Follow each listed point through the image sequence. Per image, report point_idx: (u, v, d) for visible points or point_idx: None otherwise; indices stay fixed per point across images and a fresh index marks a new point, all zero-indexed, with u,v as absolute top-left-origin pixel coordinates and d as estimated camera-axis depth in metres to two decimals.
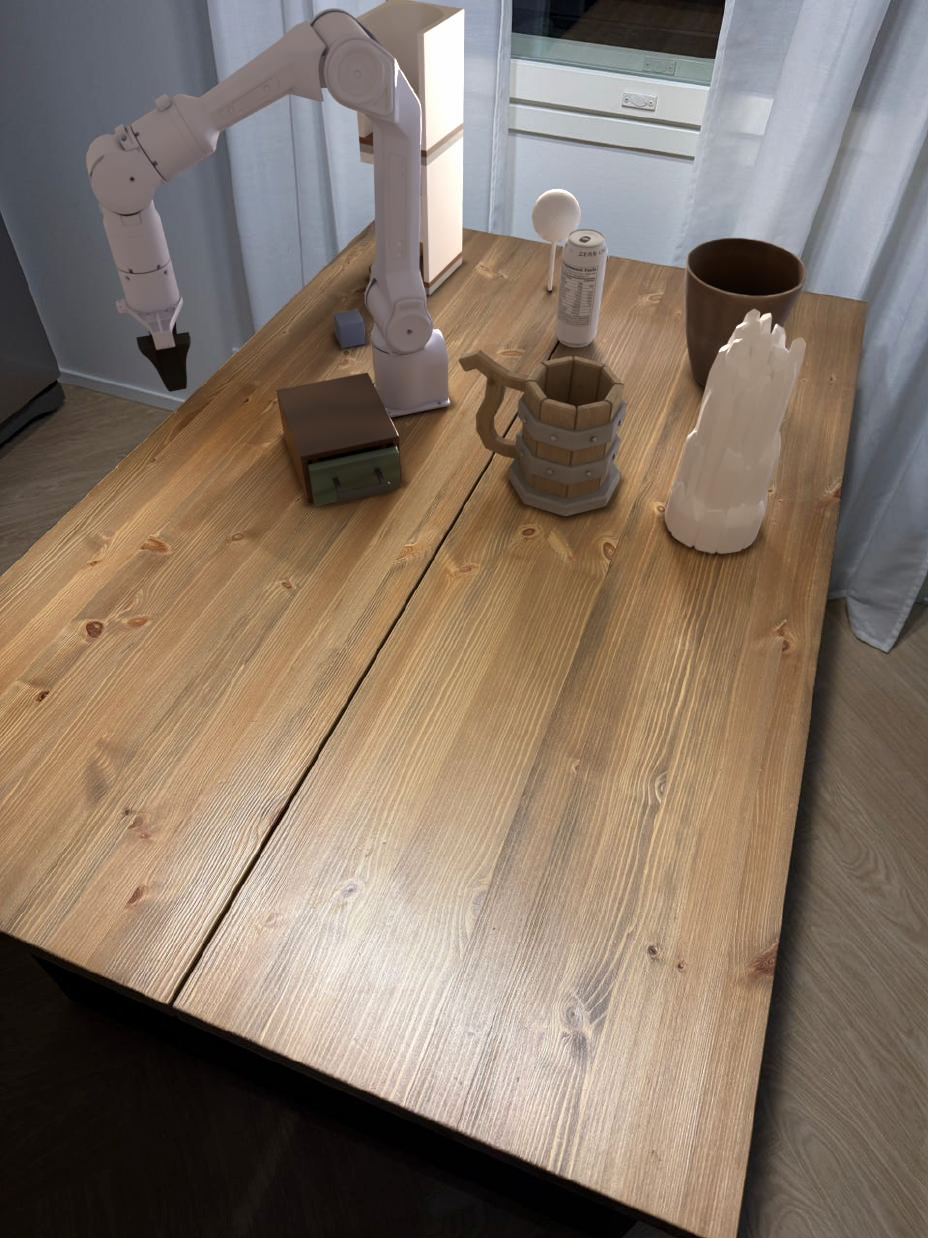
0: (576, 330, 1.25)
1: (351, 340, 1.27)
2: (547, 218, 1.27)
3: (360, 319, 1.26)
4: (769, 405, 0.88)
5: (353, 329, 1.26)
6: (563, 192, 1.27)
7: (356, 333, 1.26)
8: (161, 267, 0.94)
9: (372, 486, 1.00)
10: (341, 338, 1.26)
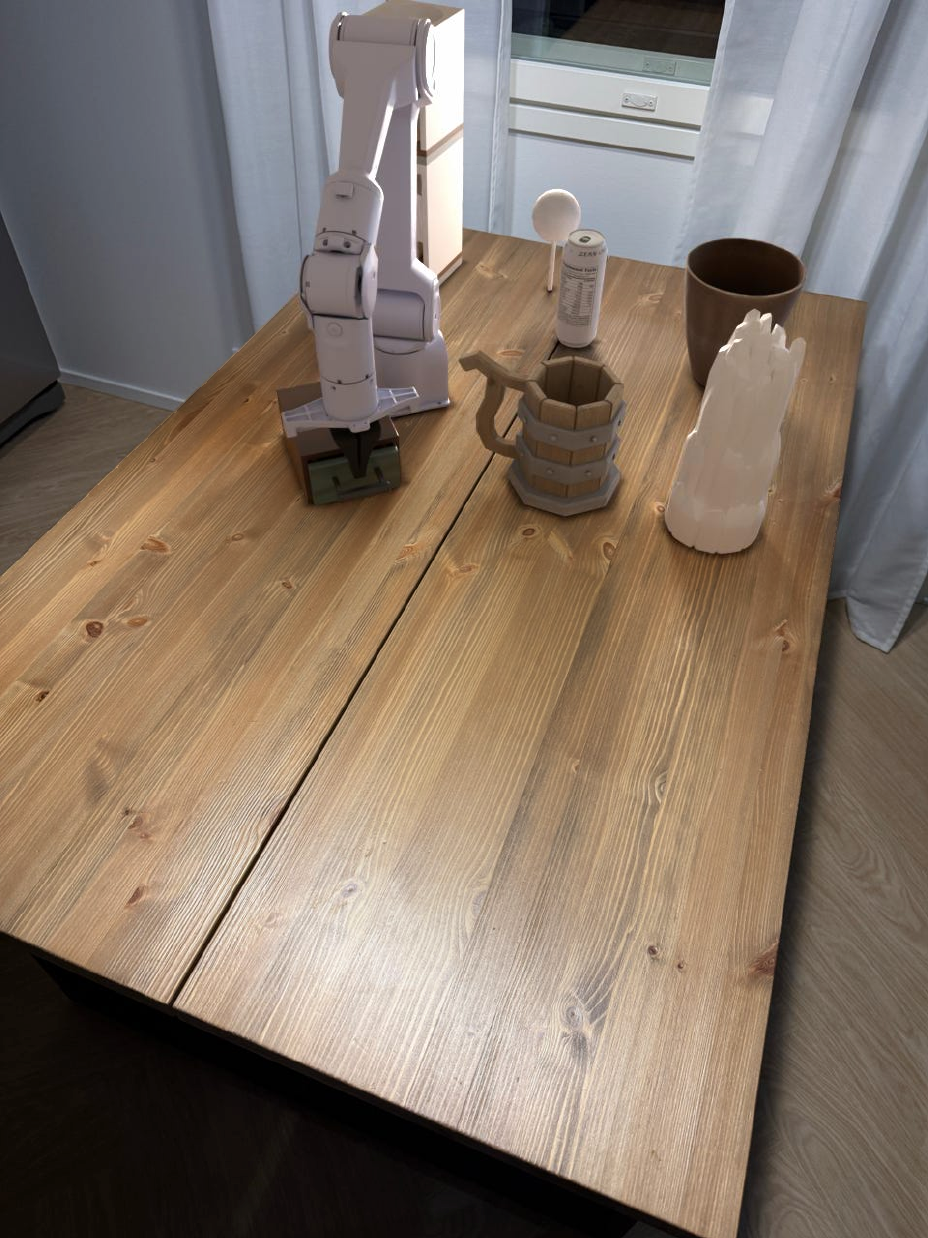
0: (576, 330, 1.25)
1: None
2: (547, 218, 1.27)
3: None
4: (769, 405, 0.88)
5: None
6: (563, 192, 1.27)
7: None
8: None
9: (372, 485, 1.00)
10: None
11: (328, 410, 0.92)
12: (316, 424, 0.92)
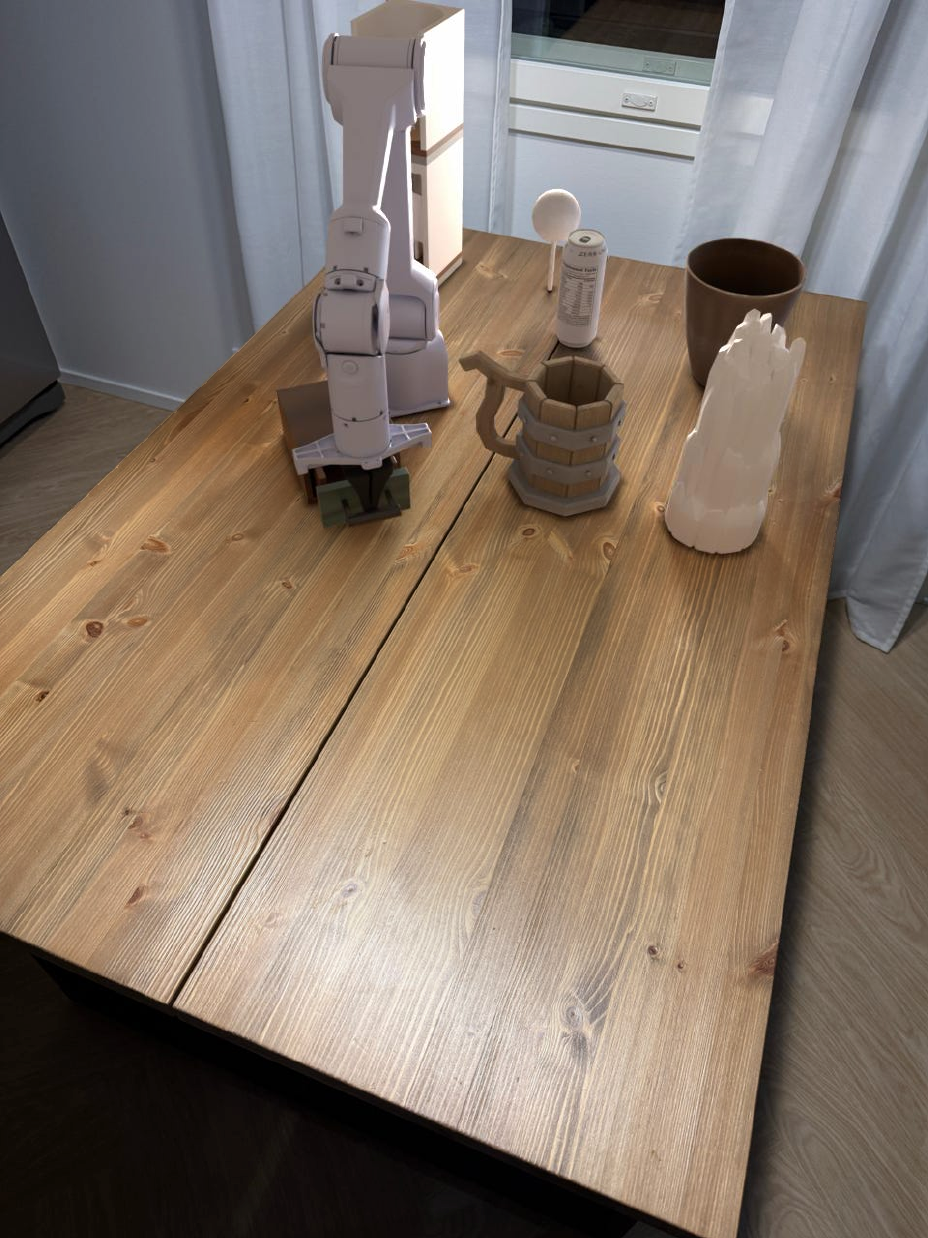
0: (576, 330, 1.25)
1: None
2: (547, 218, 1.27)
3: None
4: (769, 405, 0.88)
5: None
6: (563, 192, 1.27)
7: None
8: None
9: (382, 508, 0.98)
10: None
11: (340, 447, 0.91)
12: (327, 461, 0.91)
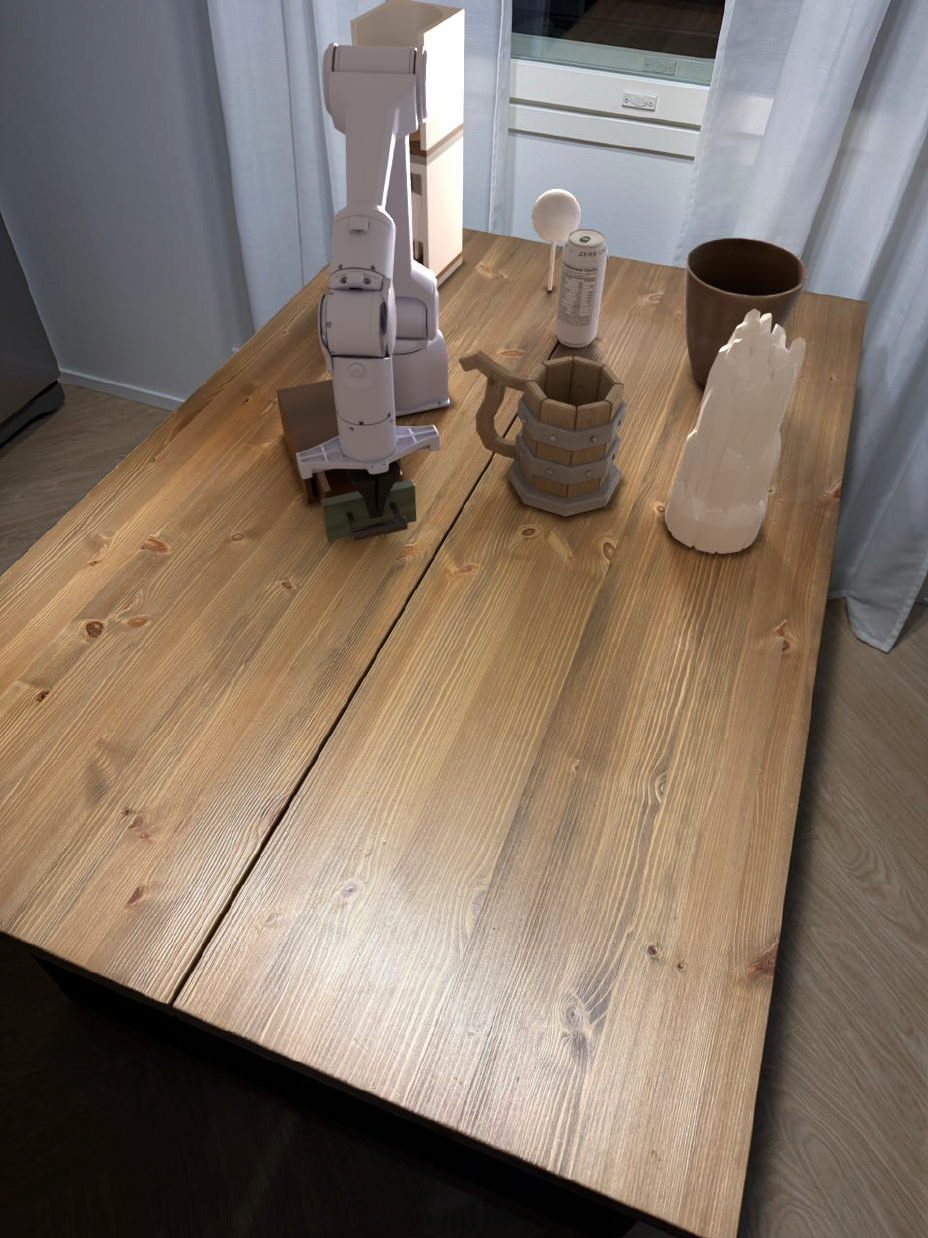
0: (576, 330, 1.25)
1: None
2: (547, 218, 1.27)
3: None
4: (769, 405, 0.88)
5: None
6: (563, 192, 1.27)
7: None
8: None
9: (388, 522, 0.96)
10: None
11: (345, 451, 0.88)
12: (332, 465, 0.88)
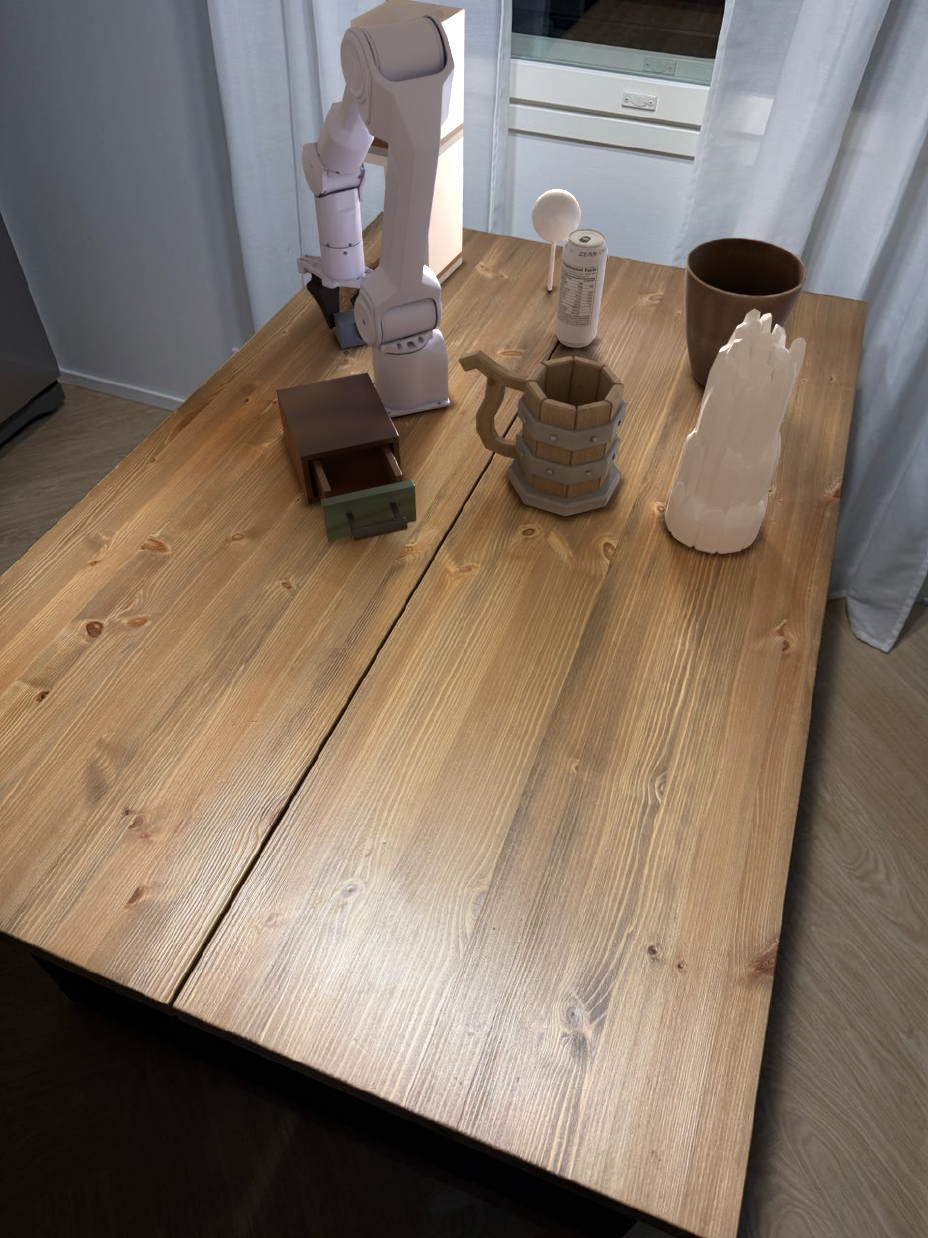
0: (576, 330, 1.25)
1: (351, 340, 1.27)
2: (547, 218, 1.27)
3: None
4: (769, 405, 0.88)
5: (353, 329, 1.26)
6: (563, 192, 1.27)
7: (357, 333, 1.26)
8: None
9: (388, 522, 0.96)
10: (341, 338, 1.26)
11: None
12: (311, 269, 1.21)
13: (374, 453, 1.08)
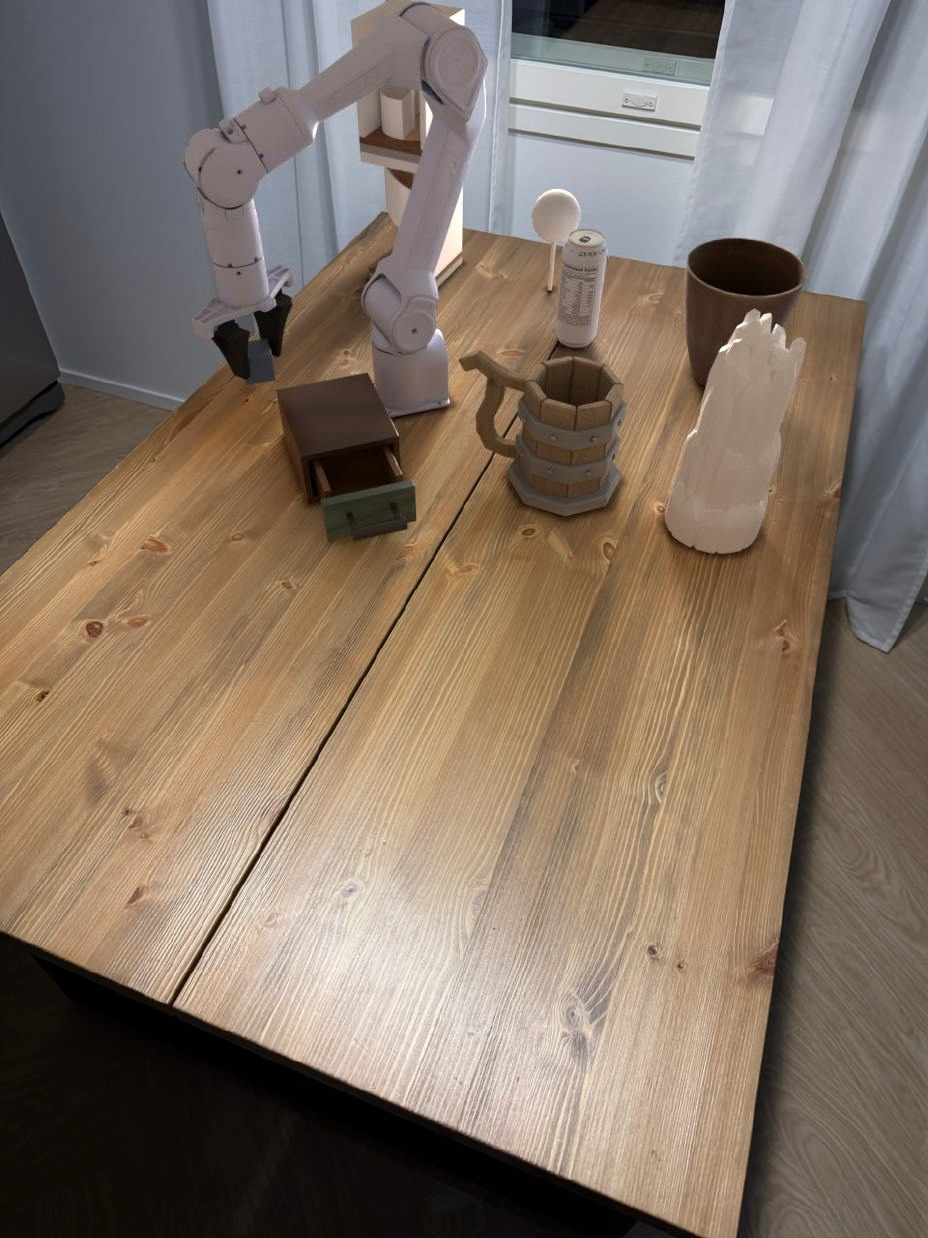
0: (576, 330, 1.25)
1: None
2: (547, 218, 1.27)
3: (262, 340, 1.06)
4: (769, 405, 0.88)
5: None
6: (563, 192, 1.27)
7: None
8: None
9: (388, 522, 0.96)
10: None
11: (233, 301, 0.97)
12: (230, 316, 0.96)
13: (374, 453, 1.08)
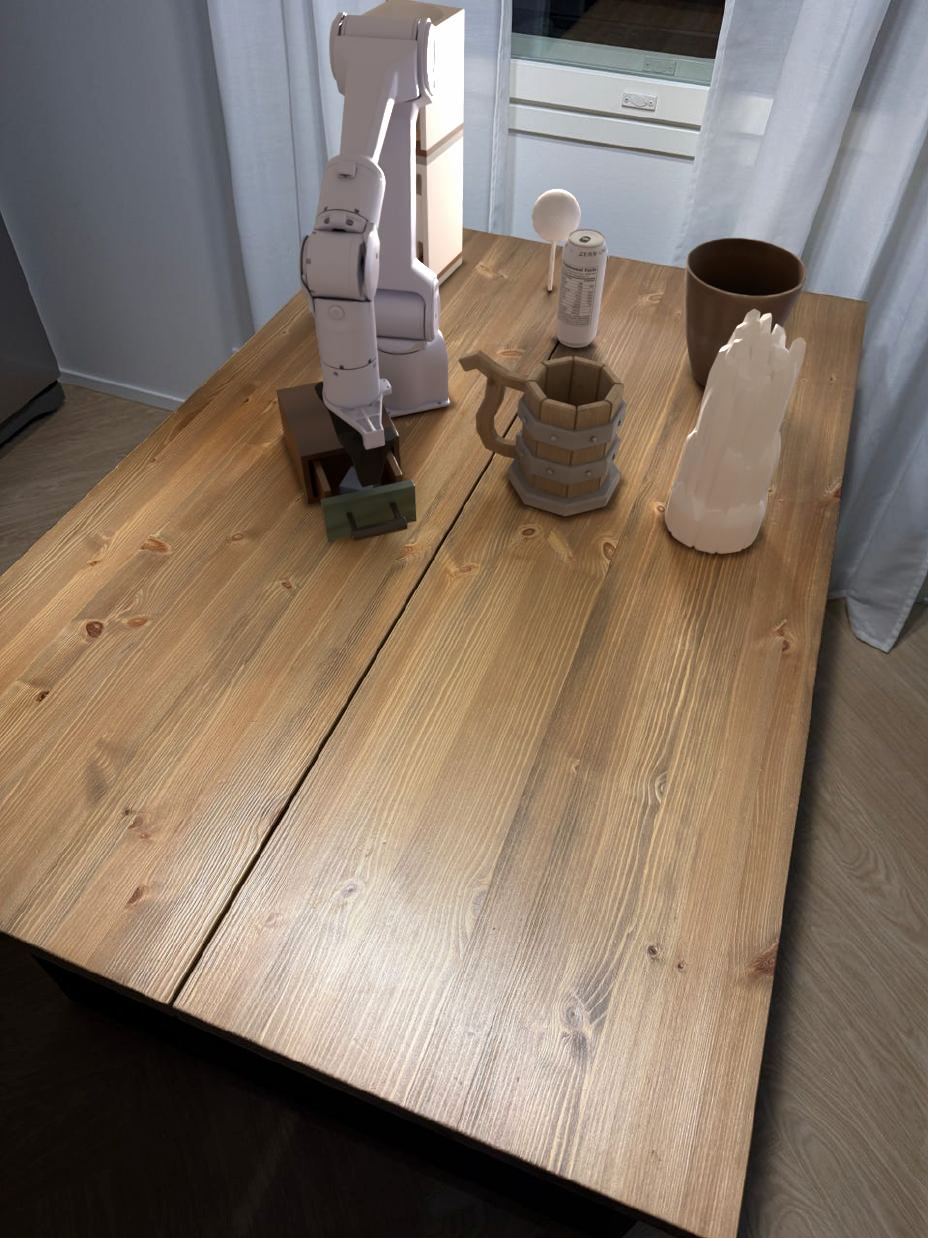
0: (576, 330, 1.25)
1: None
2: (547, 218, 1.27)
3: (351, 469, 1.01)
4: (769, 405, 0.88)
5: None
6: (563, 192, 1.27)
7: None
8: None
9: (388, 522, 0.96)
10: None
11: (369, 398, 0.89)
12: (381, 413, 0.89)
13: None
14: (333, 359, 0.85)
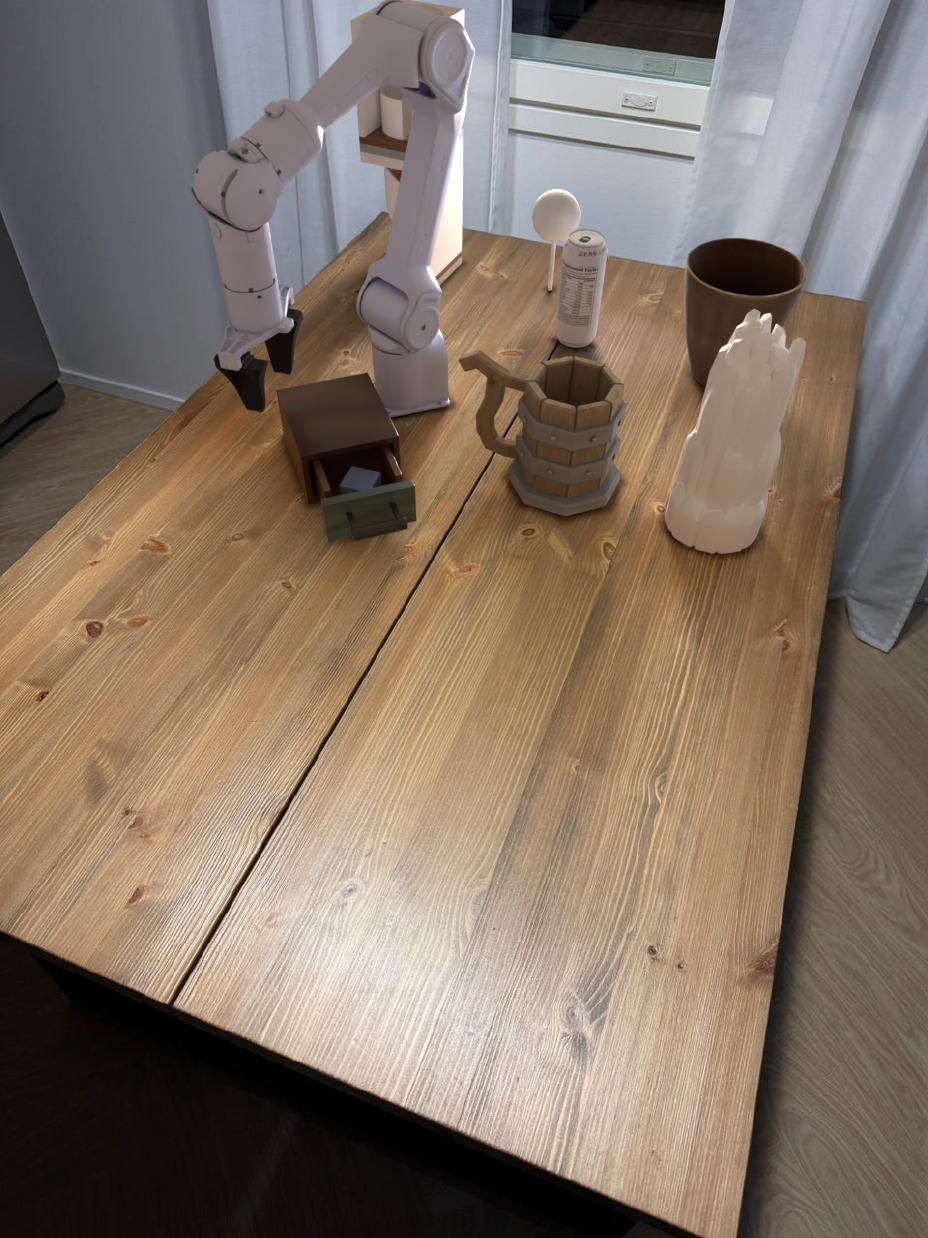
0: (576, 330, 1.25)
1: None
2: (547, 218, 1.27)
3: (351, 469, 1.01)
4: (769, 405, 0.88)
5: None
6: (563, 192, 1.27)
7: None
8: None
9: (388, 522, 0.96)
10: None
11: (254, 326, 0.93)
12: (255, 343, 0.93)
13: (374, 453, 1.08)
14: (221, 276, 0.91)
